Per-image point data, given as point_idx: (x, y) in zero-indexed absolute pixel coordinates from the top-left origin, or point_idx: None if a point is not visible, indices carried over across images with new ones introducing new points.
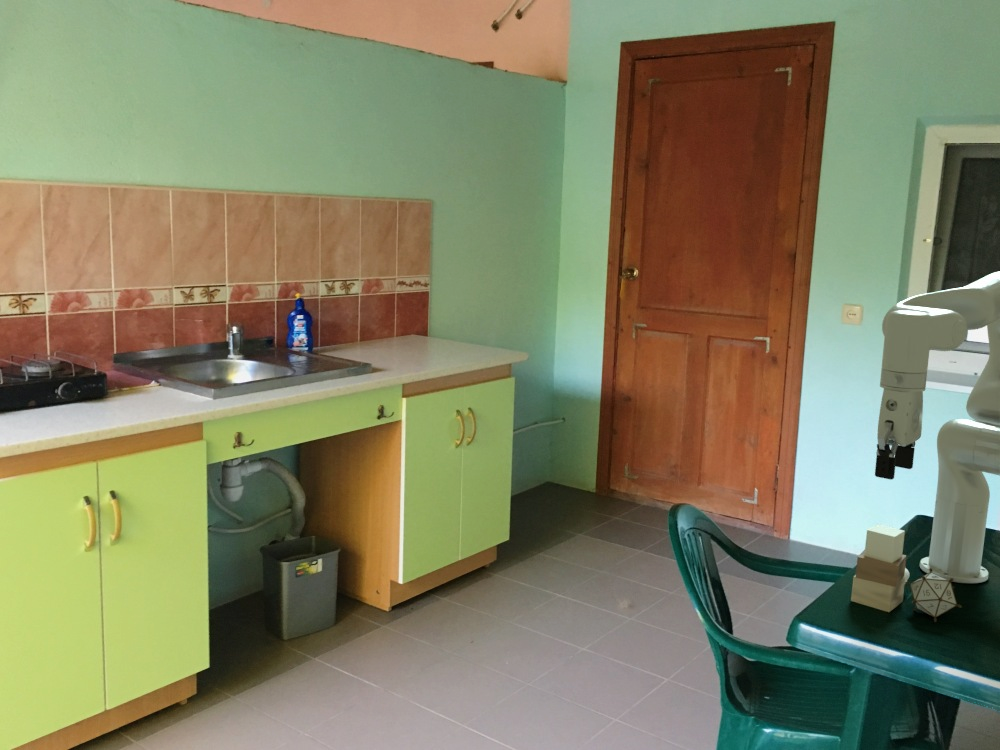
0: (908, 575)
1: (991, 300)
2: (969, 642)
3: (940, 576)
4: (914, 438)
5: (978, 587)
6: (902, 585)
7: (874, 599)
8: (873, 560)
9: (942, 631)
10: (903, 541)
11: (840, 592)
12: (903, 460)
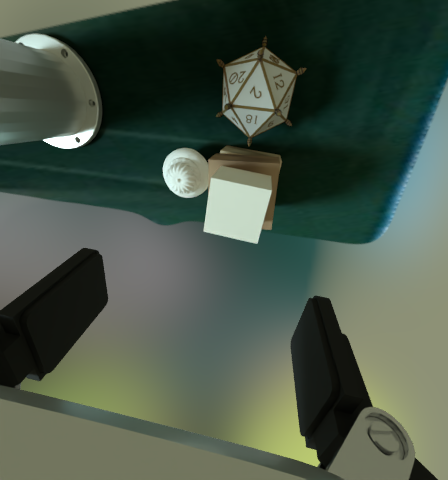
0: (188, 149)
1: None
2: (345, 9)
3: (245, 82)
4: (75, 469)
5: (86, 45)
6: (232, 150)
7: None
8: (274, 205)
9: (316, 65)
10: (217, 172)
11: None
12: (85, 296)
